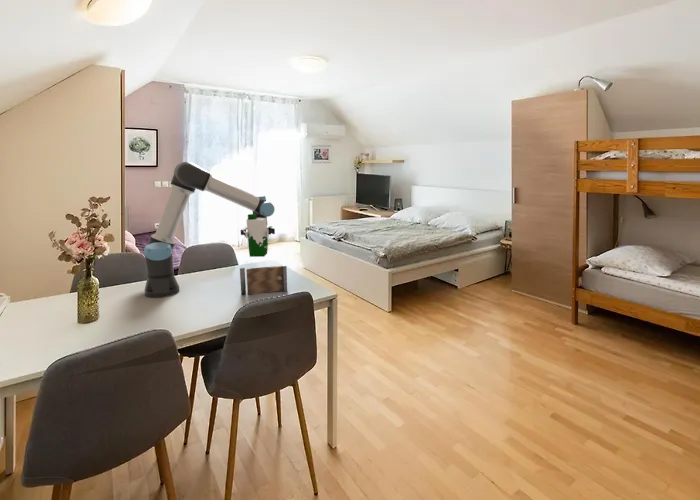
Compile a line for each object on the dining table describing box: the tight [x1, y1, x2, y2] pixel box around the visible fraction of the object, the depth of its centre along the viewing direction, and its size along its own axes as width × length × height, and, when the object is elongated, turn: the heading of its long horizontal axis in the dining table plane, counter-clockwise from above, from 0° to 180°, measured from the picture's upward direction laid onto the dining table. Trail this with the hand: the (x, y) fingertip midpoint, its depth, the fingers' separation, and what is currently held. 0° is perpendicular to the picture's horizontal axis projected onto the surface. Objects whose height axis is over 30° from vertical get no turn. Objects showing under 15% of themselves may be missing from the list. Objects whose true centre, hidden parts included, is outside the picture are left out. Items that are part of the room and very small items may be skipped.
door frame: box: [239, 264, 288, 296], centre depth 190 cm, size 22×2×13 cm, turn 106°
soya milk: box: [246, 213, 269, 258], centre depth 194 cm, size 9×9×20 cm
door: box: [246, 265, 283, 295], centre depth 191 cm, size 18×4×12 cm, turn 111°
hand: (257, 234), depth 189 cm, fingers closed on soya milk, 9 cm apart
